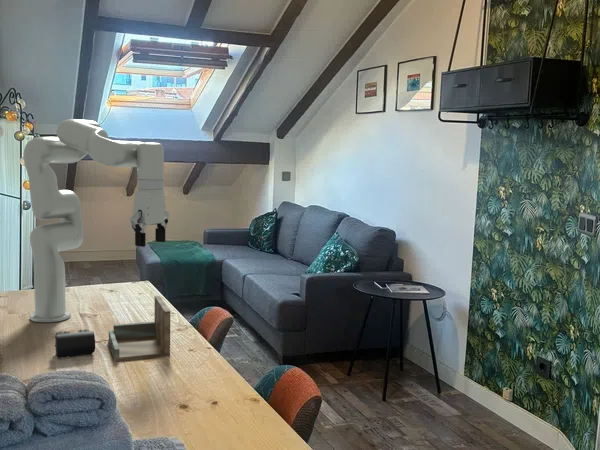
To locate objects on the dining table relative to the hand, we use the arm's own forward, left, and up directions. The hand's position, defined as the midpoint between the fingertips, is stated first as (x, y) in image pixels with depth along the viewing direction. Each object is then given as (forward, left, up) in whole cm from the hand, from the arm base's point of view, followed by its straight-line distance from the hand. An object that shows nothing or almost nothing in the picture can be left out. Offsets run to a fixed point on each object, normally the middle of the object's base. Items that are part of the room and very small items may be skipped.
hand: (150, 243), depth 180 cm
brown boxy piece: (+4, -5, -30) cm, 31 cm away
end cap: (+5, -22, -30) cm, 38 cm away
